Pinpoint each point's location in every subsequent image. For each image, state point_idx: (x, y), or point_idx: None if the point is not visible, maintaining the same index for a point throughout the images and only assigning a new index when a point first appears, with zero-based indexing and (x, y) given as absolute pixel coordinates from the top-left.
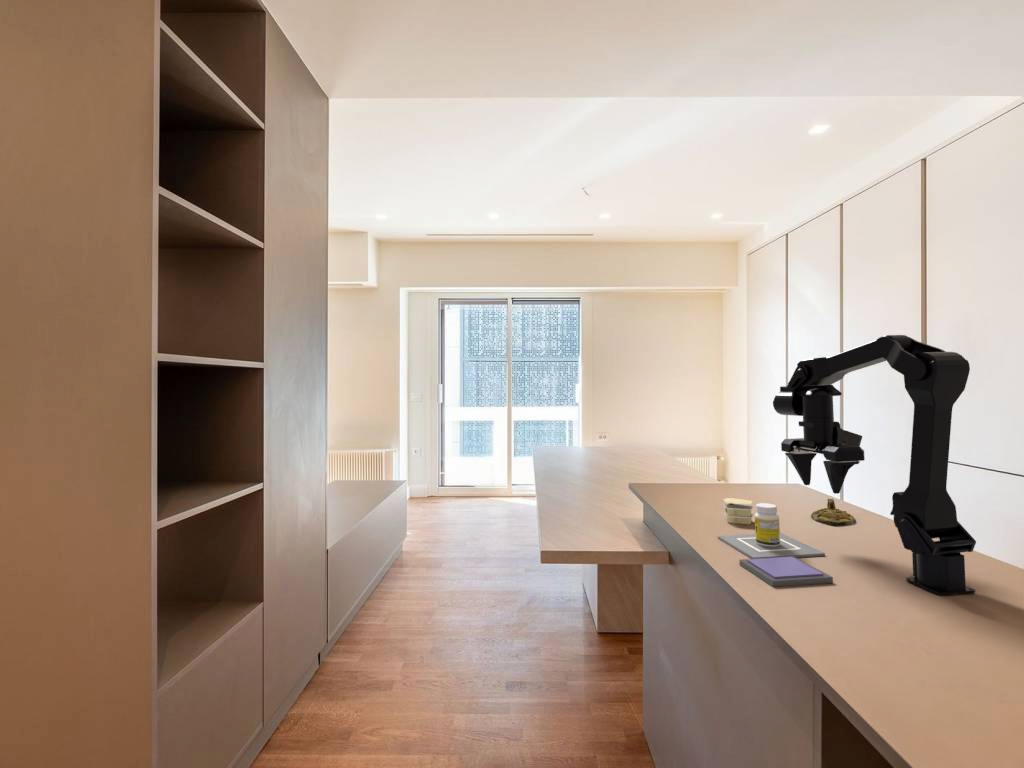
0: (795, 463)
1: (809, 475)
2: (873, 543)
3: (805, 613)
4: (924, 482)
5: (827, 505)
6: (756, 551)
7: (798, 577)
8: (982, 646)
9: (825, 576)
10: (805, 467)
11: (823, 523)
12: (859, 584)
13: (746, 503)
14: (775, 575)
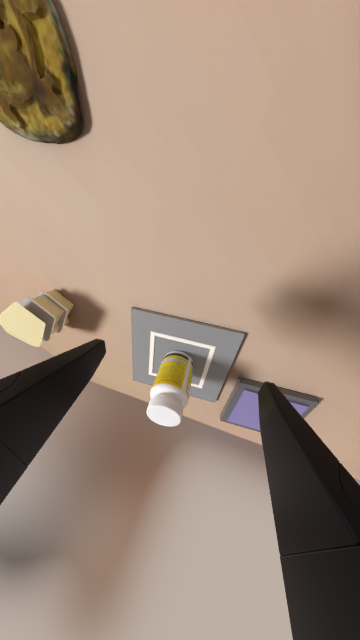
0: (29, 462)
1: (75, 366)
2: (239, 170)
3: (337, 451)
4: None
5: None
6: (198, 388)
7: None
8: None
9: (311, 405)
10: (39, 412)
11: (61, 142)
12: (343, 381)
13: (40, 326)
14: None
